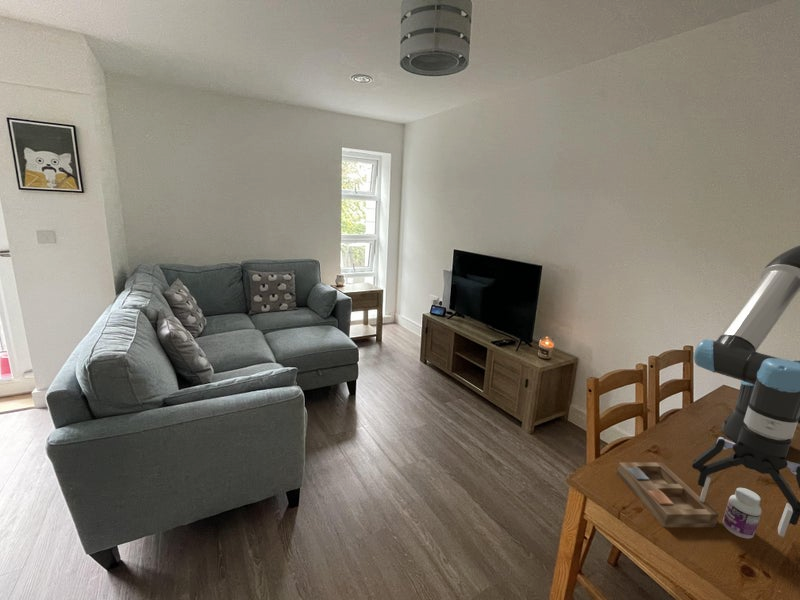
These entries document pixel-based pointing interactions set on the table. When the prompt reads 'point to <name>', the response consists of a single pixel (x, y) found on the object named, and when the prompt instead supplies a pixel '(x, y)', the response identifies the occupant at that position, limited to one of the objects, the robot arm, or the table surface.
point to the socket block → (666, 495)
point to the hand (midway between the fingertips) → (739, 514)
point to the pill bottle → (742, 513)
